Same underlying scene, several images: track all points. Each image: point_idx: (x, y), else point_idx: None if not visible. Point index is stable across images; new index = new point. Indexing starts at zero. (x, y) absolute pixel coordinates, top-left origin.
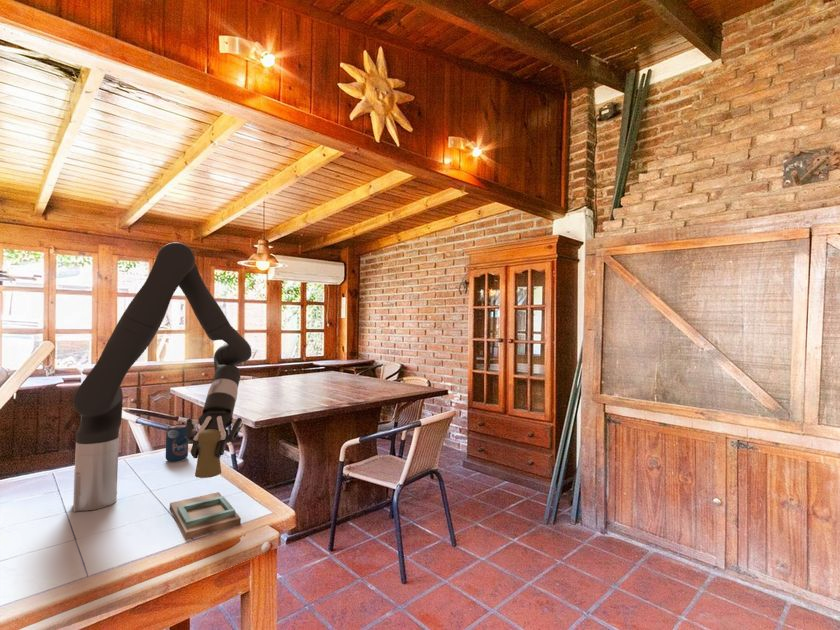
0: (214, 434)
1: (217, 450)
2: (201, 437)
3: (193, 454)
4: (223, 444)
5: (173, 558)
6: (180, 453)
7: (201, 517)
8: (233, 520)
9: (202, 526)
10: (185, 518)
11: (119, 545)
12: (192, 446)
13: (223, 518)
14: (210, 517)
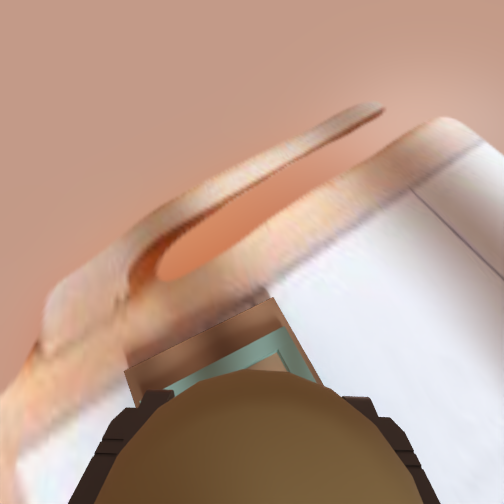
0: (151, 422)
1: (156, 406)
2: (330, 390)
3: (358, 398)
4: (86, 481)
5: (269, 221)
6: None
7: (247, 354)
8: (147, 359)
9: (236, 328)
10: (298, 357)
11: (433, 301)
12: (425, 481)
13: (180, 378)
14: (219, 360)
